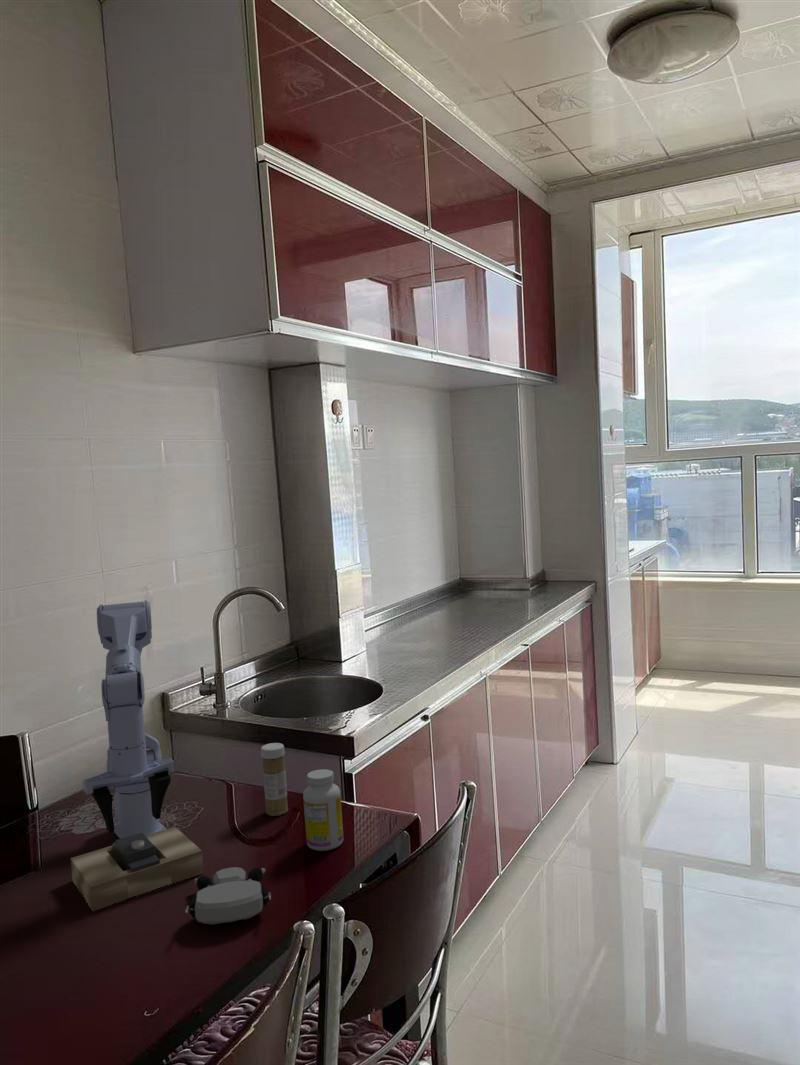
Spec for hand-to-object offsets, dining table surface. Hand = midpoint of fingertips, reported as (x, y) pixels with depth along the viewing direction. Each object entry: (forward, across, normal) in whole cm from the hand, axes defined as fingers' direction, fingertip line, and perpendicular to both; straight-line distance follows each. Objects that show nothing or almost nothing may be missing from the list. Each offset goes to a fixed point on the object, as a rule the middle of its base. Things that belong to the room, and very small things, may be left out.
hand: (133, 823), depth 132 cm
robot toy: (+10, +8, -20) cm, 24 cm away
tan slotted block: (+9, 0, 0) cm, 9 cm away
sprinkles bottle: (+9, +30, +8) cm, 32 cm away
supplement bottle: (+9, +30, -11) cm, 33 cm away
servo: (+9, 0, 0) cm, 9 cm away
